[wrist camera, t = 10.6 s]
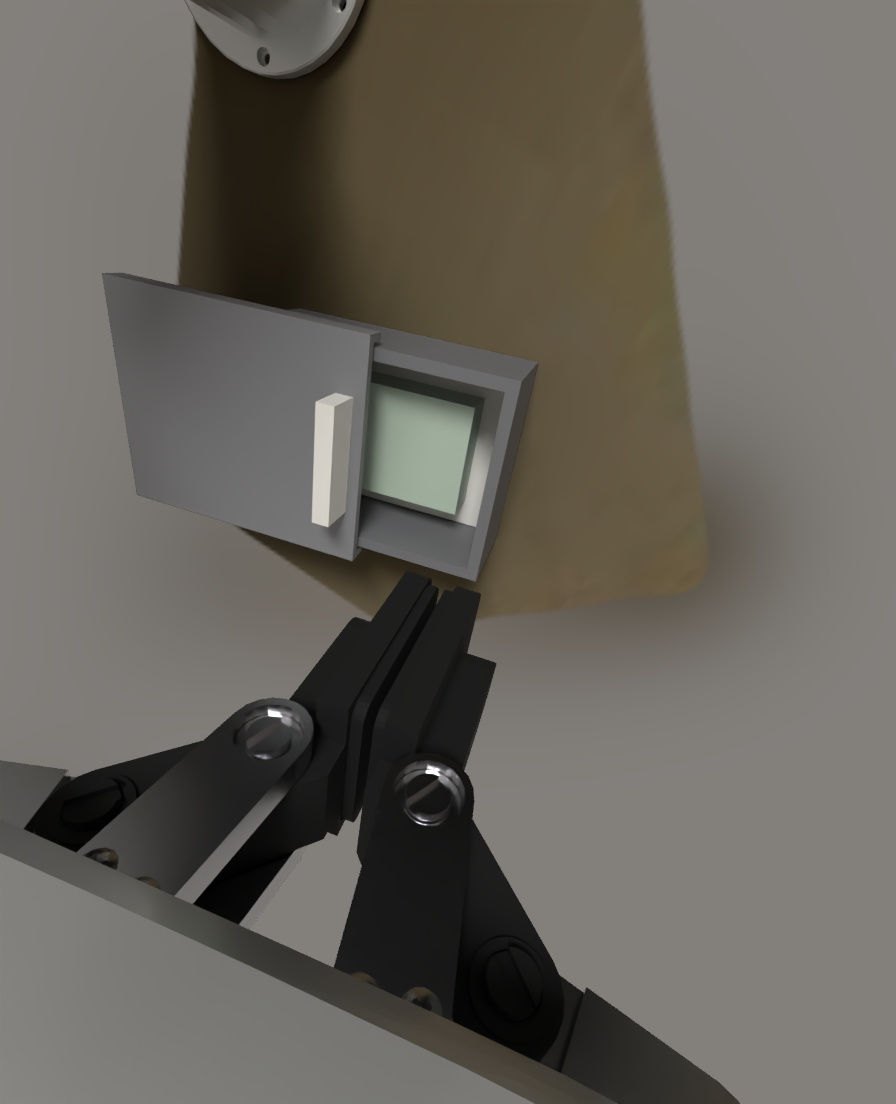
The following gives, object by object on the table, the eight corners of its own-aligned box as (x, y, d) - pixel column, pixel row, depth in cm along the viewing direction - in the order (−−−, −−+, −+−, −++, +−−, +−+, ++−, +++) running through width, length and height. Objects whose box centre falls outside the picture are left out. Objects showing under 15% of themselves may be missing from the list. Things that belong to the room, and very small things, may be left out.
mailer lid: (122, 272, 35) (66, 273, 31) (381, 331, 32) (351, 340, 28) (152, 487, 43) (110, 507, 39) (361, 550, 40) (336, 578, 36)
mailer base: (300, 308, 39) (242, 316, 33) (538, 362, 36) (521, 381, 30) (297, 481, 46) (249, 513, 40) (495, 538, 43) (475, 581, 37)
